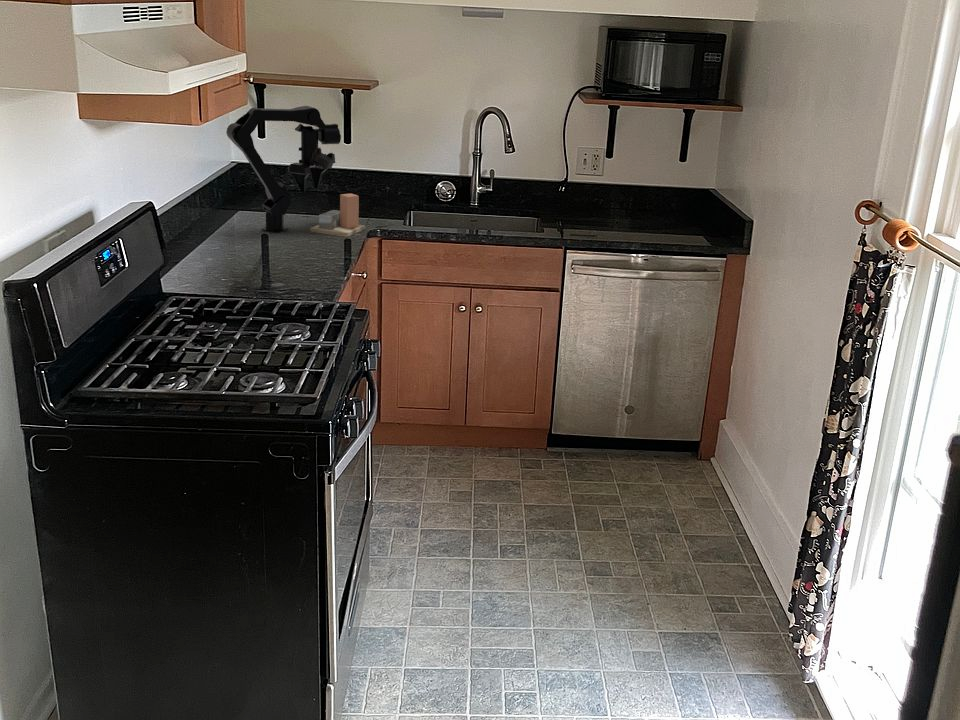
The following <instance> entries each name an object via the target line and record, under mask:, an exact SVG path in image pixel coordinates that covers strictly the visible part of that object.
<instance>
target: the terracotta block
mask: <svg viewBox="0 0 960 720" xmlns="http://www.w3.org/2000/svg"><path fill="white" fill-rule="evenodd" d="M359 199H360V196H359V195H358V194H354V193H343V194H342V193H341V194H339V211H340V226H342V227H345V228H355V227H358V225H359V212H360V210H359V208H360V207H359V206H360V205H359V203H360V201H359Z"/></svg>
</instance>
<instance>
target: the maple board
mask: <svg viewBox="0 0 960 720" xmlns="http://www.w3.org/2000/svg"><path fill="white" fill-rule="evenodd" d="M365 230H366V225H363V224H358V227H355V228H345V227H342V226H340V210H337V209H336V210H335V209H331V210H329V211H326V212H323V213H321V214H318V225H314V226H312V227H310V232H311V233H312V232H313V233H318V234H325V235H331V236H339V237H346V238H347V237H351V236H352V235H355V234H356V233H360V232H362V231H365Z"/></svg>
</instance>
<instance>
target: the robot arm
mask: <svg viewBox="0 0 960 720" xmlns="http://www.w3.org/2000/svg"><path fill="white" fill-rule="evenodd" d="M263 121H264V122H295V123H299V124H298V126H296V127H295V128H294V130H295V131H296V132H300V141H301V143H300V144H301V145H300V147H298V151H299V152H301V153H300V155H301V156H300V159H299V160H298V162H292V163H290V164H289V165H288V172H289V173H290V175H292V176H293V178H294V179H295V181H296V184H297V187H298V188H299V190H300V193H303V194H304V193H305V192H306V186H307V178H308V177H309V176H310V174H311V179H312V184H313V186H314V189H316V190H317V189H319V187H320V183H321V180H322V177H323V174H324V173H325V172H326V171H327V170H328V169H332V168H333V165H334V164H336V155H335V153H333V152H329V153H323V152H322V148H321V147H319V142H320V143H321V145H339V144H340V143H341V139H342V136H341V131H340V128H339V124H338V123H330V124H328V123H327V124H326V123H325V121H324V120H322V118H321V113H320V111H319V109H317V108H315V107H312V106H309V105H302V106H297V107H293V108H262V107H261V108H257V107H251V108H250V109H249V110H248V111H247V112H246V113H245V114H243V115H242V116H241V117H239V118H238V119H237V120H236V121H235V122H234V123H230V124H229V125H228V126H227V128H226V135H227V138H229V140H230V142H232V143H233V144H234V145H235V146H236V147H237V149H239V150H240V151H241V152H242V153H243V156H245V158H246V160H247V161H248V163H249V164H250V166H251V167H252V169H253V171H254V173H255V174H256V175H257V177H258V178H259V180H260V182H261V184H262V185H263V187H264V190H265V194H266V197H267V199H266V200H265V201H264V202H262V203H263V204H262V205H261V206H262V209H263V210H264V211H265V227H264V228H262V229H261V231H263V232H269V233H277V234H279V233H281V232H285V231H287V230H288V228H287V227H285V223H284V222H285V221H284V216H286V214H287V211H288V208H289V207H290V206H291V203H292V198H291V196H292V194H291V193H290V192H289V191H288V189H287V186H286V185H285V184H283V183H281V182H277V181H276V180H275V178H274V176H273V175H272V172H271V171H270V170H269V168H268V167H267V165H266V163H265V162H264V161H263V159H262V157H261V156H260V154H259V152H258V151H257V149H256V148H255V144H254V140H253V137H252V135H251V134H252V133H254V131H255V130H256V128H257V126H258V125H259V123H260V122H263ZM314 127H315V128H314Z"/></svg>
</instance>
